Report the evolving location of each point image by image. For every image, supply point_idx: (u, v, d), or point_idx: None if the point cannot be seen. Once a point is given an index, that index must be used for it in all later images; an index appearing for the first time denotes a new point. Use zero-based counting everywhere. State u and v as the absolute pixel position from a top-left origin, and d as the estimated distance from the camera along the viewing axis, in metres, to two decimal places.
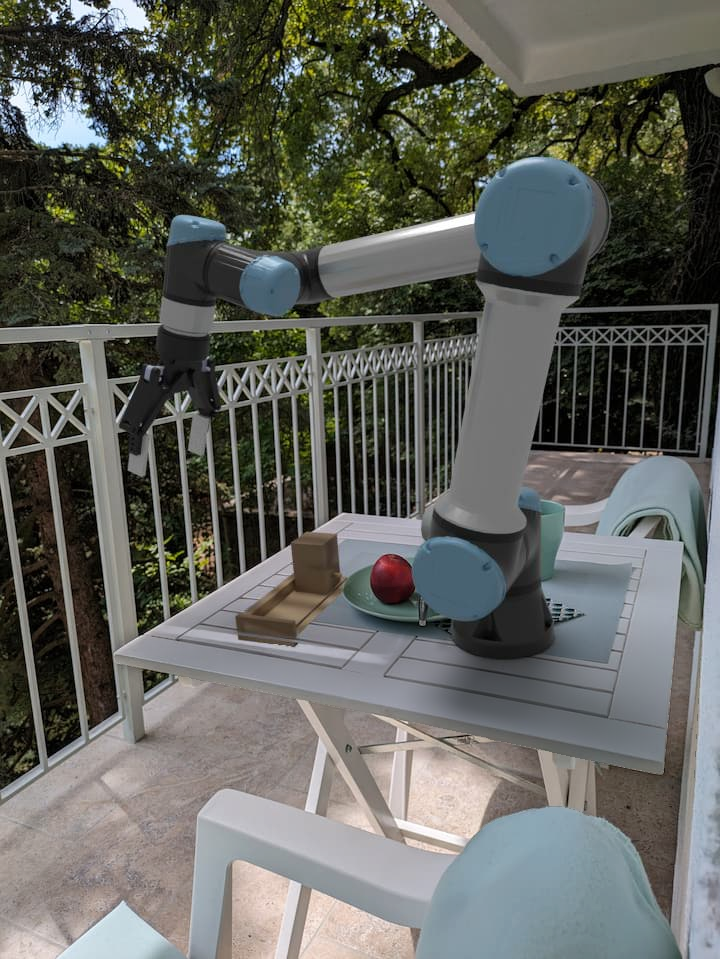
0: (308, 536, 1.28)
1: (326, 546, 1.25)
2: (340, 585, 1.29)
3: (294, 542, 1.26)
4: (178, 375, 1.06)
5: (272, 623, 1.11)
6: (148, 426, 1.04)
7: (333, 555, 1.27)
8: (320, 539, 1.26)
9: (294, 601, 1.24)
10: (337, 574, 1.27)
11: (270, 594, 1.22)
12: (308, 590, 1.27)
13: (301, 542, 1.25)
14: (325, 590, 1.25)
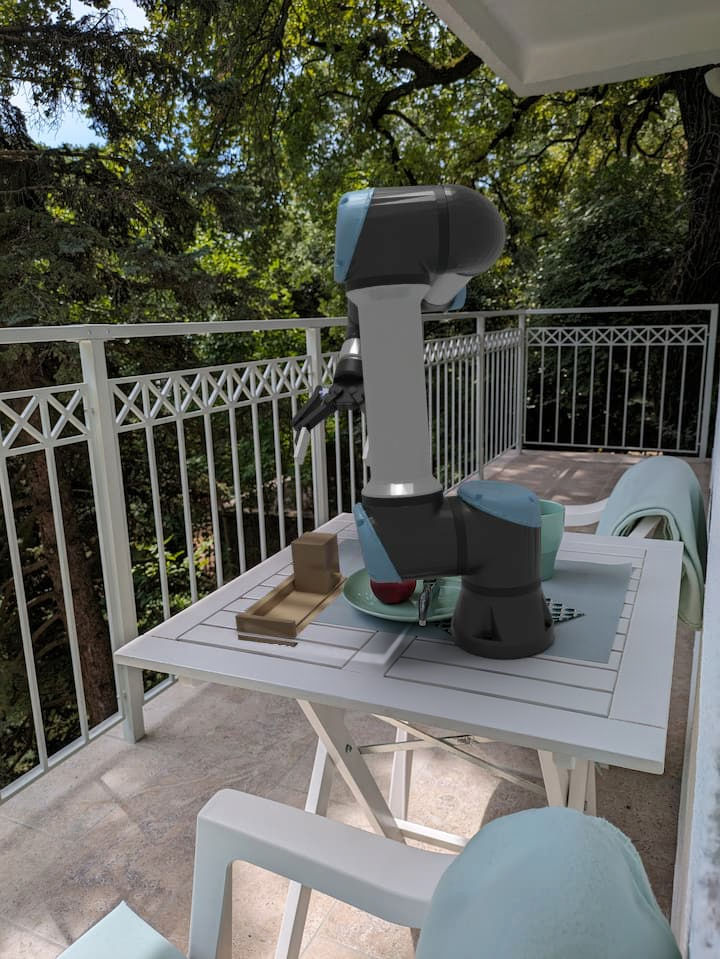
0: (308, 536, 1.28)
1: (326, 546, 1.25)
2: (340, 585, 1.29)
3: (294, 542, 1.26)
4: None
5: (272, 623, 1.11)
6: (305, 421, 1.38)
7: (333, 555, 1.27)
8: (320, 539, 1.26)
9: (294, 601, 1.24)
10: (337, 574, 1.27)
11: (270, 594, 1.22)
12: (308, 590, 1.27)
13: (301, 542, 1.25)
14: (325, 590, 1.25)
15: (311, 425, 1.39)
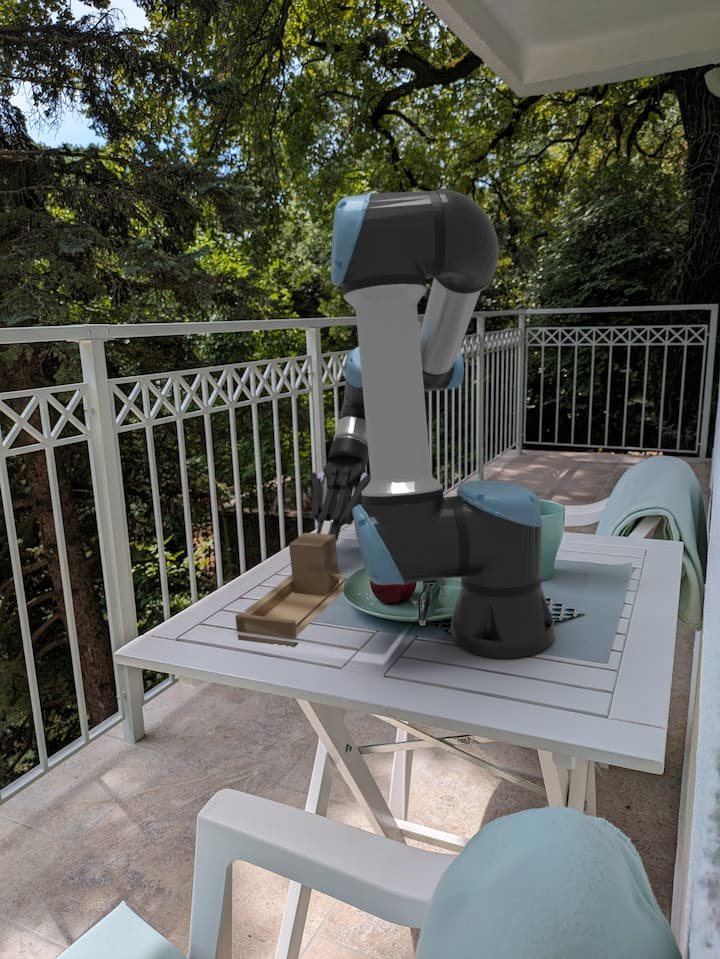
0: (307, 537, 1.28)
1: (324, 547, 1.24)
2: (340, 585, 1.29)
3: (292, 543, 1.25)
4: None
5: (272, 623, 1.11)
6: (325, 512, 1.35)
7: (331, 556, 1.27)
8: (318, 540, 1.26)
9: (294, 601, 1.24)
10: (336, 575, 1.26)
11: (270, 594, 1.22)
12: (306, 591, 1.26)
13: (300, 544, 1.25)
14: (324, 591, 1.25)
15: (330, 513, 1.36)
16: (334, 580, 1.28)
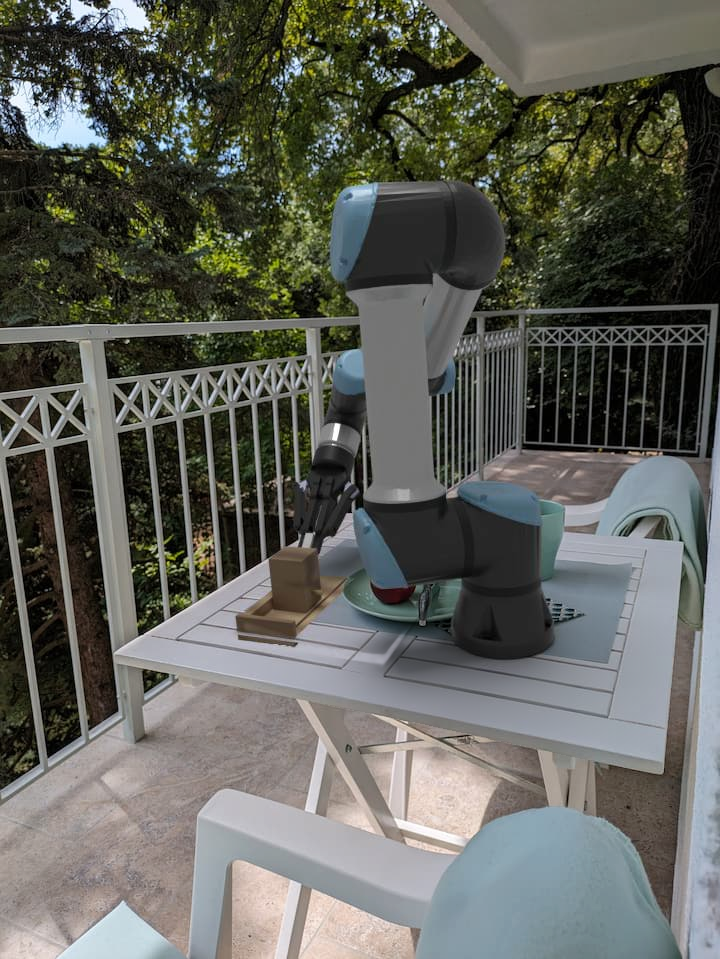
0: (287, 551, 1.21)
1: (306, 562, 1.18)
2: (340, 585, 1.29)
3: (272, 558, 1.19)
4: None
5: (272, 623, 1.11)
6: (307, 524, 1.29)
7: (313, 571, 1.21)
8: (299, 554, 1.19)
9: None
10: (318, 591, 1.20)
11: (270, 594, 1.22)
12: (287, 608, 1.20)
13: (280, 558, 1.18)
14: (305, 608, 1.19)
15: (312, 525, 1.30)
16: (316, 596, 1.22)
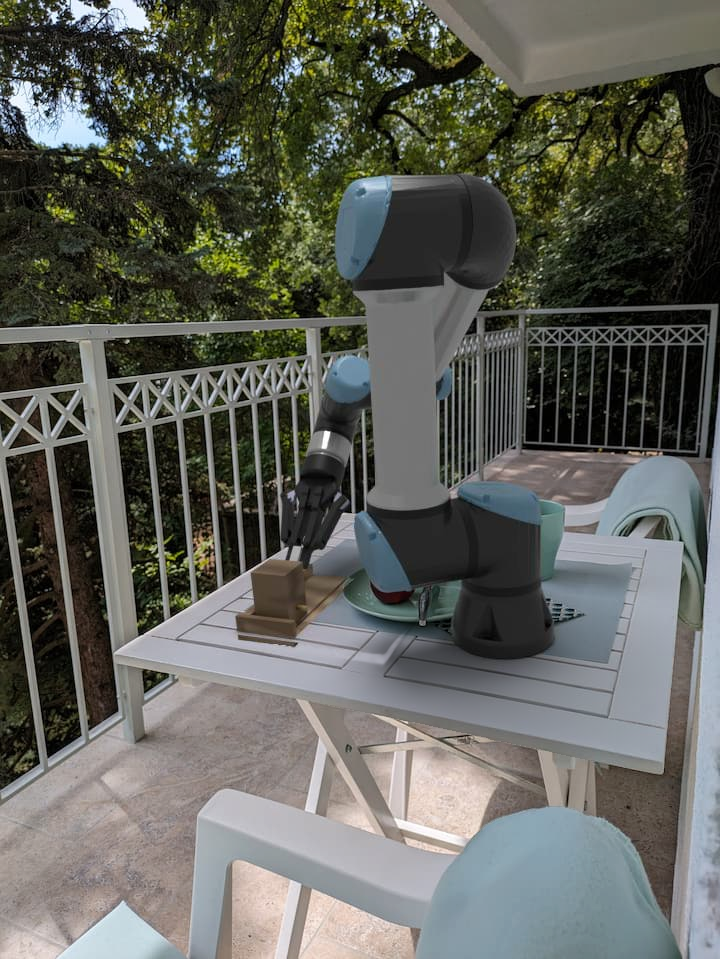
0: (271, 564, 1.16)
1: (289, 576, 1.12)
2: (340, 585, 1.29)
3: (254, 571, 1.13)
4: None
5: (272, 623, 1.11)
6: (295, 536, 1.23)
7: (297, 585, 1.15)
8: (283, 568, 1.14)
9: None
10: (302, 607, 1.15)
11: None
12: None
13: (262, 572, 1.13)
14: None
15: (301, 537, 1.24)
16: (301, 611, 1.17)
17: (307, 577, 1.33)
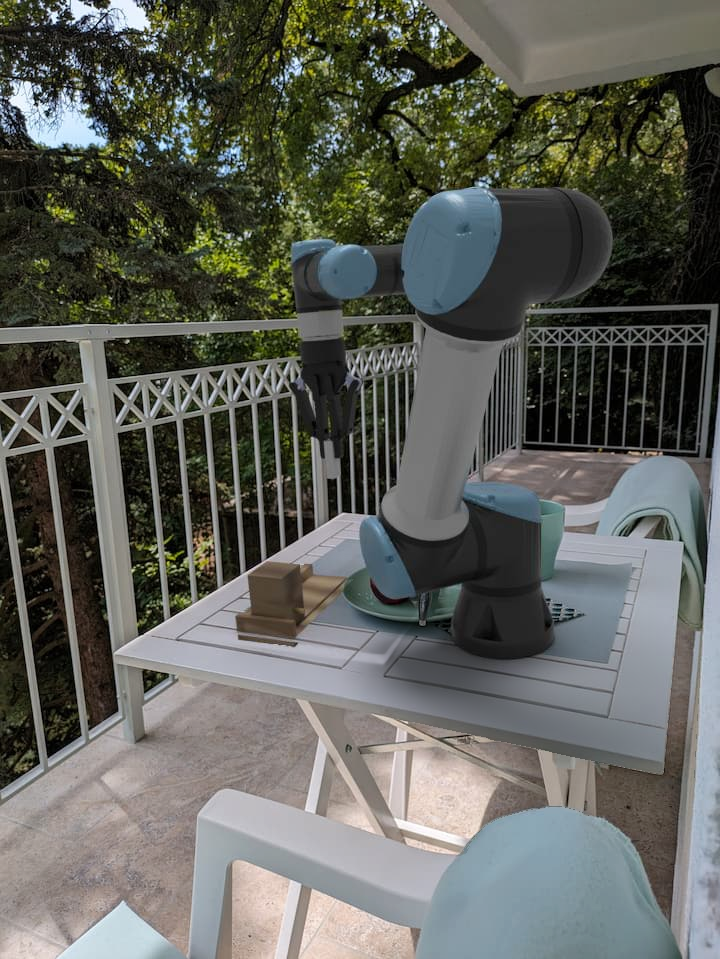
0: (268, 567, 1.15)
1: (286, 579, 1.11)
2: (340, 585, 1.29)
3: (251, 574, 1.12)
4: None
5: (272, 623, 1.11)
6: (321, 430, 1.24)
7: (295, 588, 1.14)
8: (280, 571, 1.13)
9: None
10: (299, 610, 1.14)
11: None
12: None
13: (259, 575, 1.12)
14: None
15: (326, 426, 1.25)
16: (298, 614, 1.16)
17: (307, 577, 1.33)
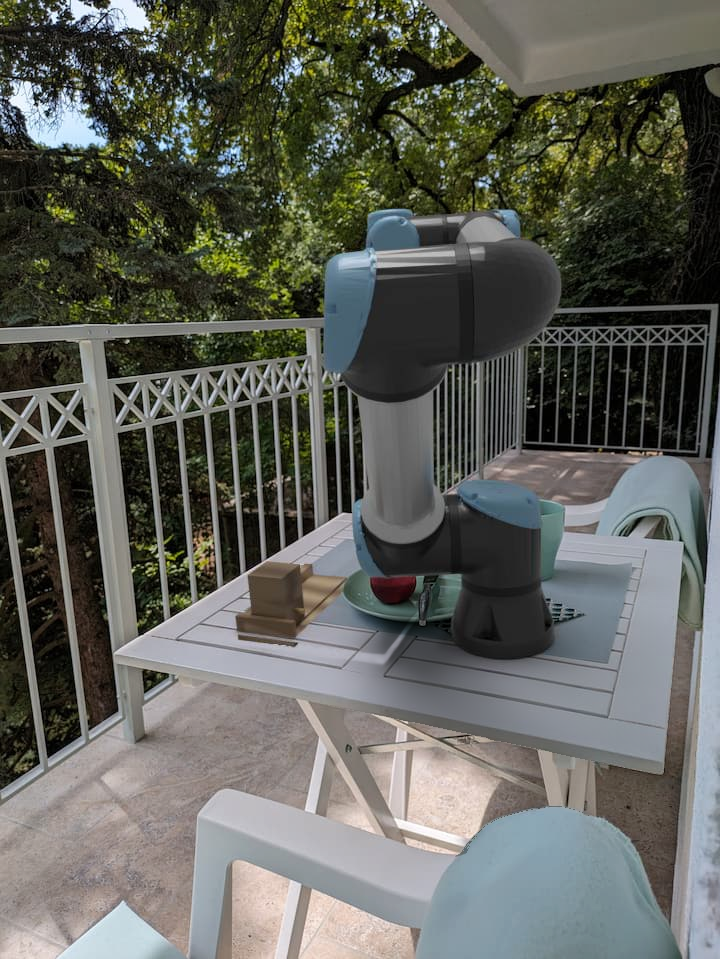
0: (268, 567, 1.15)
1: (286, 579, 1.11)
2: (340, 585, 1.29)
3: (251, 574, 1.12)
4: None
5: (272, 623, 1.11)
6: None
7: (295, 588, 1.14)
8: (280, 571, 1.13)
9: None
10: (299, 610, 1.14)
11: None
12: None
13: (259, 575, 1.12)
14: None
15: None
16: (298, 614, 1.16)
17: (307, 577, 1.33)
